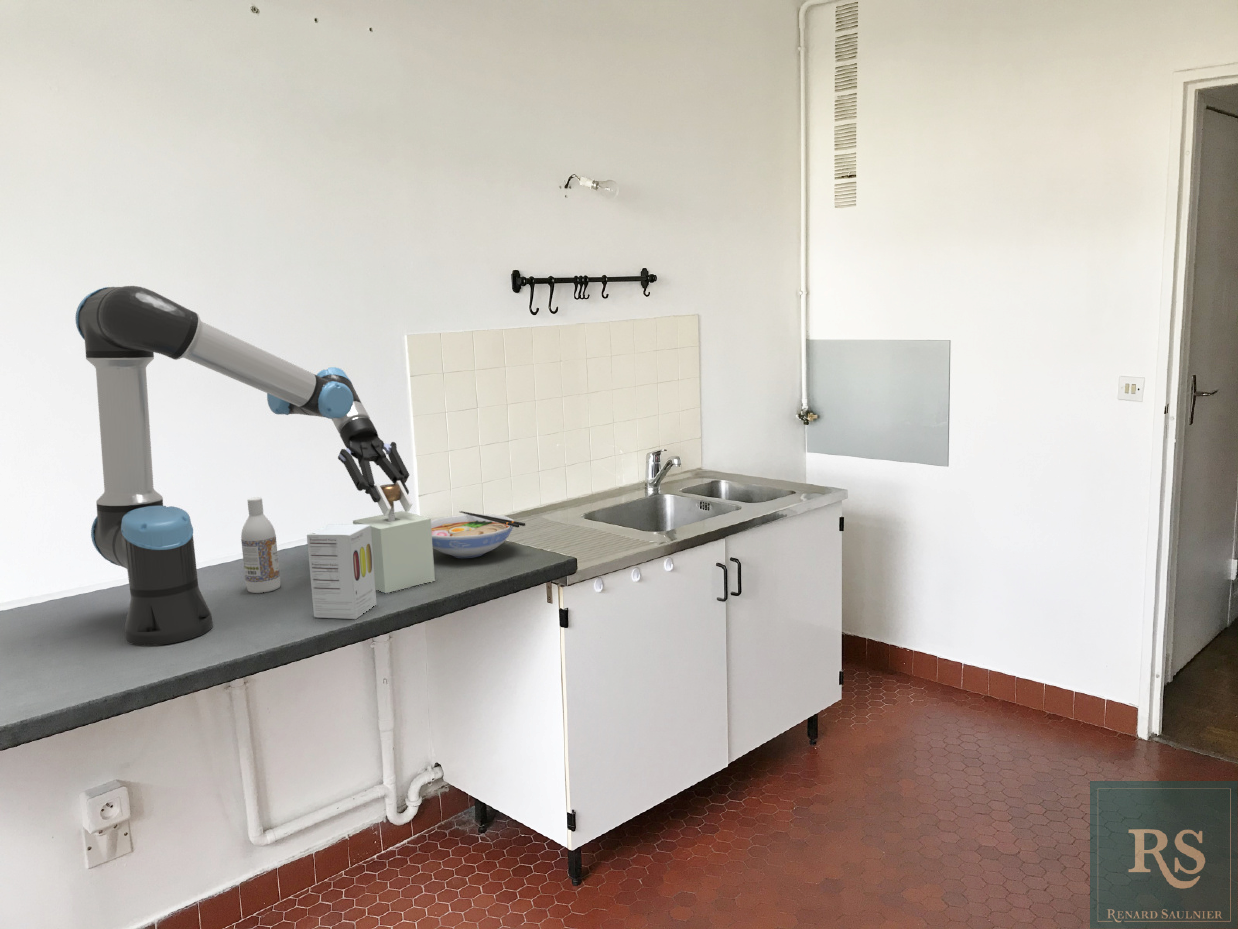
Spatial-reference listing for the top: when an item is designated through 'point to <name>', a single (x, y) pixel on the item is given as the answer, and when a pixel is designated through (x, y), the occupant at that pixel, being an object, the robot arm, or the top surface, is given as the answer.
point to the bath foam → (259, 550)
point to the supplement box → (341, 570)
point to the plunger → (391, 497)
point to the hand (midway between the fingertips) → (398, 509)
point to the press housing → (401, 550)
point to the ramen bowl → (470, 533)
